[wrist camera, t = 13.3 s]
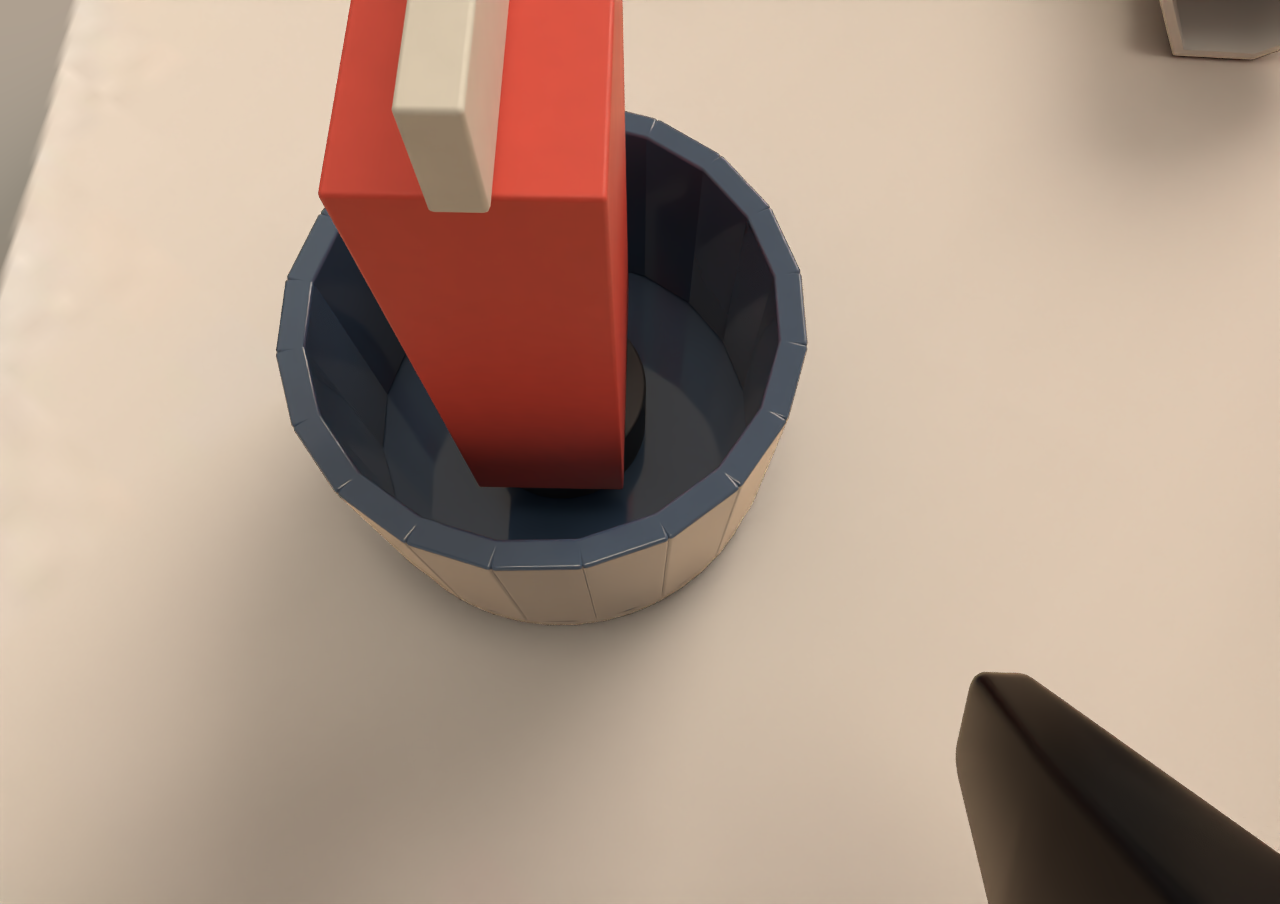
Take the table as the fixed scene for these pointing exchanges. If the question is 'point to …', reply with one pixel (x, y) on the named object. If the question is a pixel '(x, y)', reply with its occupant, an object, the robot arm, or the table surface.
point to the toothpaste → (497, 224)
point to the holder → (674, 419)
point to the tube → (1222, 27)
